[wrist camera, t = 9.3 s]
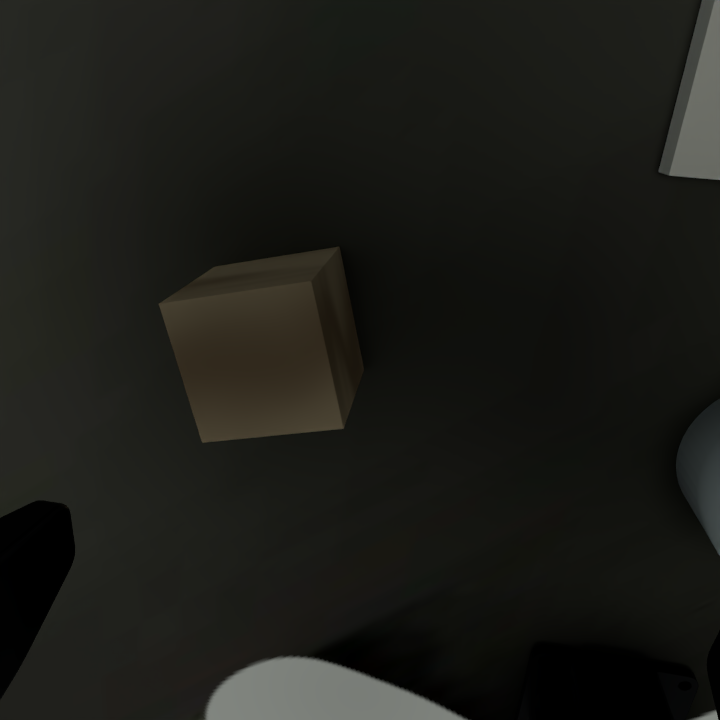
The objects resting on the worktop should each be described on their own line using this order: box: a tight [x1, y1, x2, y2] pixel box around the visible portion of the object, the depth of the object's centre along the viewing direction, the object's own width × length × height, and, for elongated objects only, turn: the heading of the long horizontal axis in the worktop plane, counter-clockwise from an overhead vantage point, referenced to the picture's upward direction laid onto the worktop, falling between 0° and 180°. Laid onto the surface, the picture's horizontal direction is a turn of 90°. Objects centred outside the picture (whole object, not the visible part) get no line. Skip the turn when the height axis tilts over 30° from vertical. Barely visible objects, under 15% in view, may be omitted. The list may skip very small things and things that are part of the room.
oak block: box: [159, 247, 364, 443], centre depth 20 cm, size 4×4×4 cm
